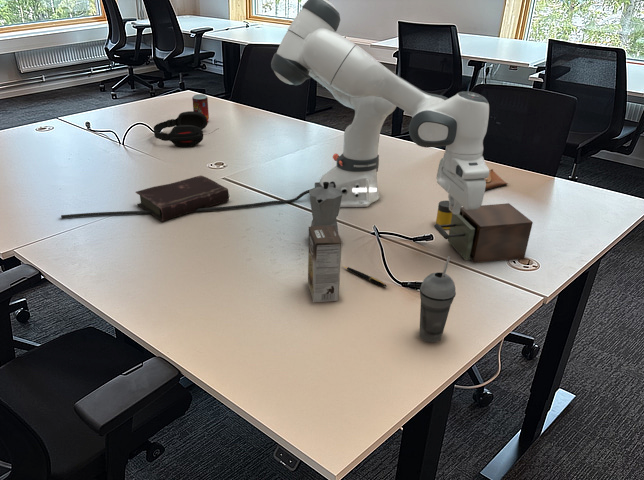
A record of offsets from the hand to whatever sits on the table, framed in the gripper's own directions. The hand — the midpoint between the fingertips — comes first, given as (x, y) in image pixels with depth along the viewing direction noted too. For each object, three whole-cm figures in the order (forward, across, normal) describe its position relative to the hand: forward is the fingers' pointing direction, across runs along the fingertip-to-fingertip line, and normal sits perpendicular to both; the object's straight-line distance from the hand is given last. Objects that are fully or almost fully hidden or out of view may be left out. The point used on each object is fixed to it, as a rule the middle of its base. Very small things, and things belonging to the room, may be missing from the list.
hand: (453, 212), depth 153 cm
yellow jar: (+12, -17, +6) cm, 22 cm away
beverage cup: (+12, +36, -19) cm, 42 cm away
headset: (+12, -121, -67) cm, 139 cm away
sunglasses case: (+12, -44, +30) cm, 55 cm away
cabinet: (+12, 0, +12) cm, 17 cm away
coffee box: (+12, +14, -38) cm, 42 cm away
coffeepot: (+12, -14, -31) cm, 36 cm away
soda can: (+12, -147, -60) cm, 159 cm away
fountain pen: (+12, +9, -26) cm, 30 cm away
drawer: (+11, 0, +6) cm, 13 cm away
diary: (+12, -49, -71) cm, 87 cm away
